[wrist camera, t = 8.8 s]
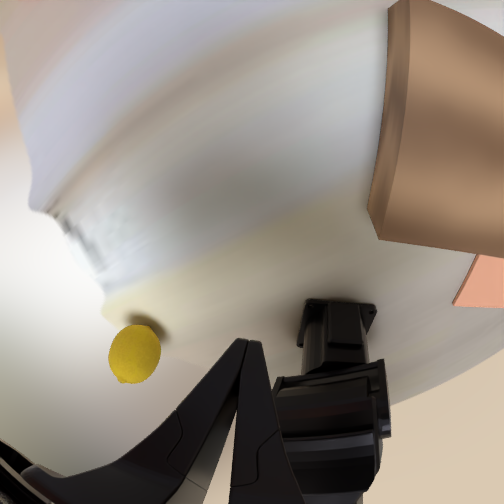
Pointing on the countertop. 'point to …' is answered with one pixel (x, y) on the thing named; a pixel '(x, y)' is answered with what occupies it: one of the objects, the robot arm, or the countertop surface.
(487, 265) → the mat
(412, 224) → the board
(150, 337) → the lemon
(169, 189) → the countertop surface
